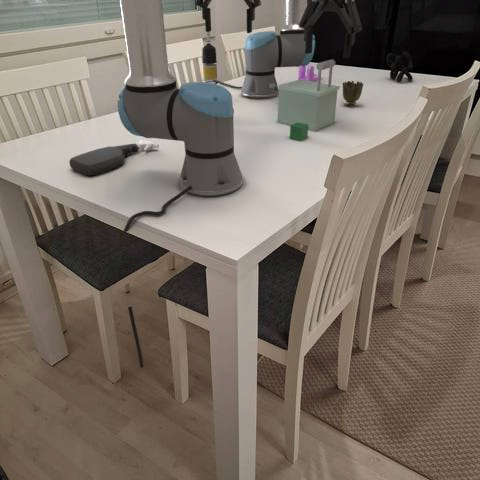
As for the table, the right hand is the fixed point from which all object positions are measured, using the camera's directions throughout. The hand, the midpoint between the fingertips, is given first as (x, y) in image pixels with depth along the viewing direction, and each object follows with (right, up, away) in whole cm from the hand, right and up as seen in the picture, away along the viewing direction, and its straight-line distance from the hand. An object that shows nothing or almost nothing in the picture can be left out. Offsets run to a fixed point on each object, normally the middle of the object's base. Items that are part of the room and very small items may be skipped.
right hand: (326, 55), depth 136 cm
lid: (-4, -7, +9) cm, 12 cm away
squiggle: (+45, +16, +65) cm, 81 cm away
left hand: (-30, +8, +3) cm, 31 cm away
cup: (+15, -6, +31) cm, 35 cm away
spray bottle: (-61, -34, -11) cm, 71 cm away
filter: (-38, 0, +43) cm, 57 cm away
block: (-8, -25, +2) cm, 26 cm away
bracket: (+6, +17, +68) cm, 70 cm away
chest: (-4, -16, +15) cm, 23 cm away
